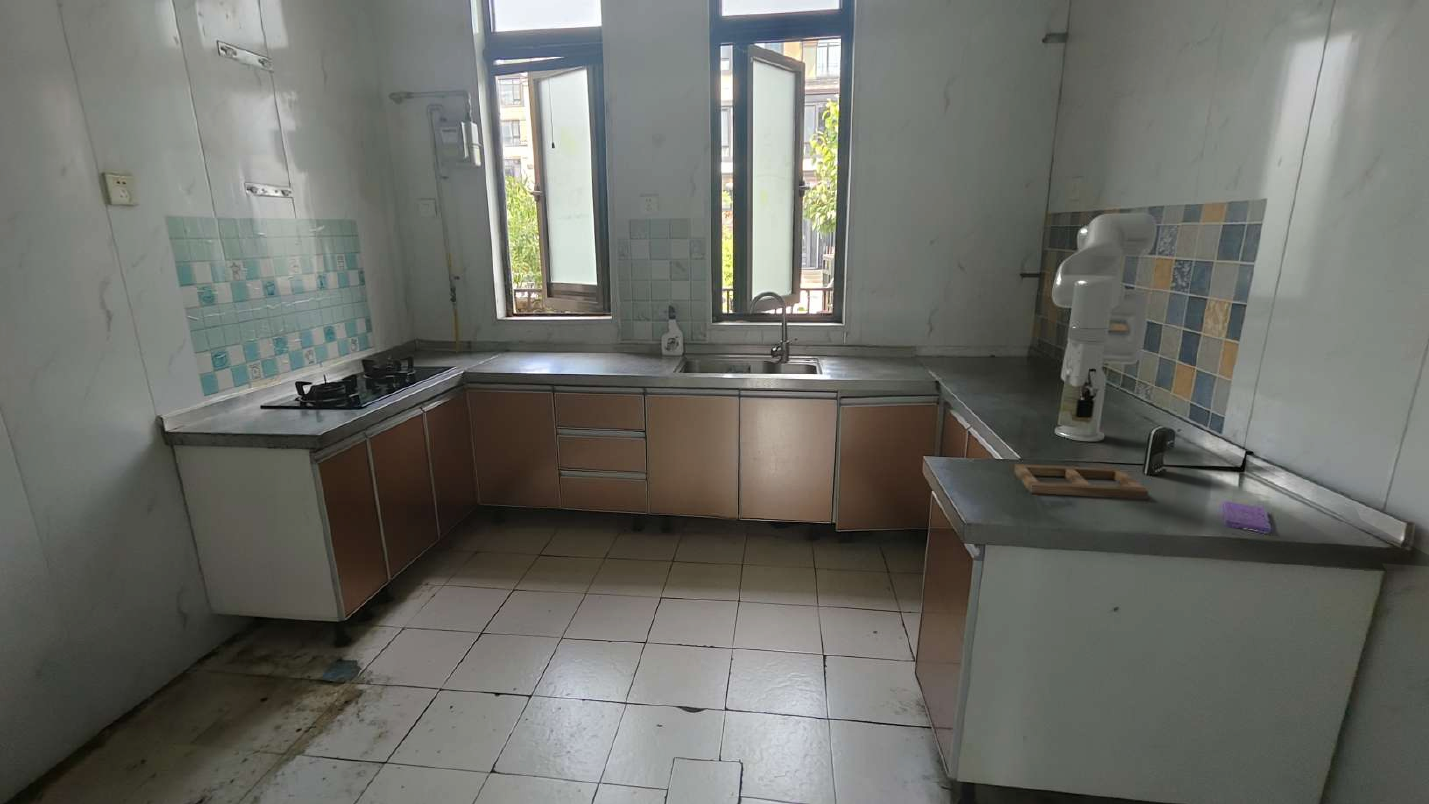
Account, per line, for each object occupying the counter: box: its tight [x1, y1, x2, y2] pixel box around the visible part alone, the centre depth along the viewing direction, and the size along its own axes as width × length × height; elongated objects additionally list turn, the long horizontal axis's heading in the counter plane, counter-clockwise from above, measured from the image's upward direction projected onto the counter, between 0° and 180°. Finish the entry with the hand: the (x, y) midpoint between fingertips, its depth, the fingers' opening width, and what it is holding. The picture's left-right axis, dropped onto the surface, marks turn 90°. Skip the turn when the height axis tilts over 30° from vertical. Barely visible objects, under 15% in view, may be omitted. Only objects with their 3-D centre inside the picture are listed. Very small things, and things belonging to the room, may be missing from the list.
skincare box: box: [1057, 373, 1097, 430], centre depth 143 cm, size 6×4×12 cm
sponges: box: [1222, 500, 1272, 534], centre depth 129 cm, size 7×13×2 cm, turn 144°
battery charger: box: [1142, 426, 1176, 476], centre depth 154 cm, size 7×4×11 cm, turn 124°
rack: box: [1013, 463, 1149, 500], centre depth 148 cm, size 14×24×2 cm, turn 80°
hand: (1076, 412), depth 144 cm, fingers closed on skincare box, 6 cm apart
